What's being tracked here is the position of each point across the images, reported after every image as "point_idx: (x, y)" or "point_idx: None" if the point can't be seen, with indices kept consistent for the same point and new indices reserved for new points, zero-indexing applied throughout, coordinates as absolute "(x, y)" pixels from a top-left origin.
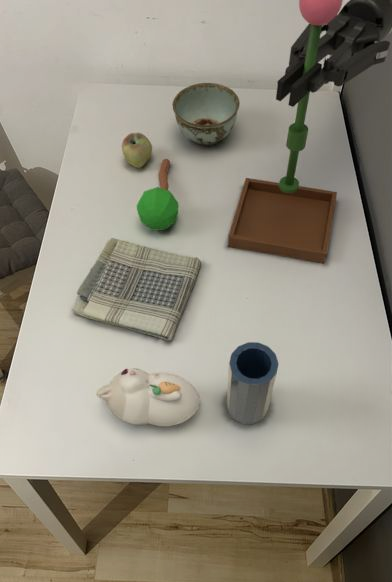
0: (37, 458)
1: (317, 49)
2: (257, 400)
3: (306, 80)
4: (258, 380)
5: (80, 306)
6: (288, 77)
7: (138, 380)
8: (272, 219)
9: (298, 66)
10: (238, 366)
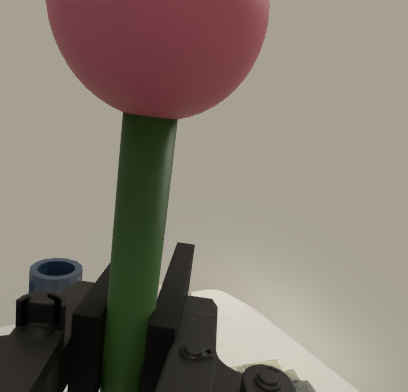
0: (204, 295)
1: (113, 233)
2: None
3: None
4: (47, 260)
5: (289, 373)
6: (173, 254)
7: (160, 286)
8: None
9: (169, 286)
10: None
